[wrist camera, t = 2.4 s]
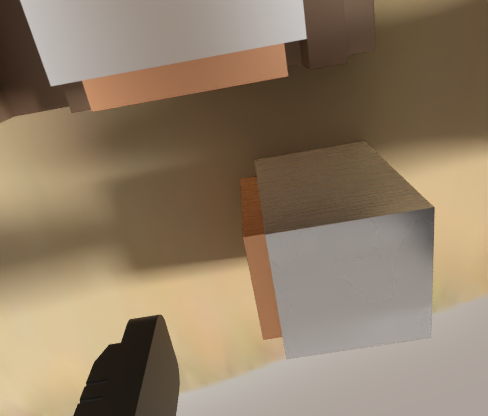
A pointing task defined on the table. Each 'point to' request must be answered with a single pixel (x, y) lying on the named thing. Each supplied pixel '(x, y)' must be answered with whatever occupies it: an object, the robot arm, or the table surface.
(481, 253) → the table surface
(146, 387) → the robot arm
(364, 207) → the wood-topped grey cube
